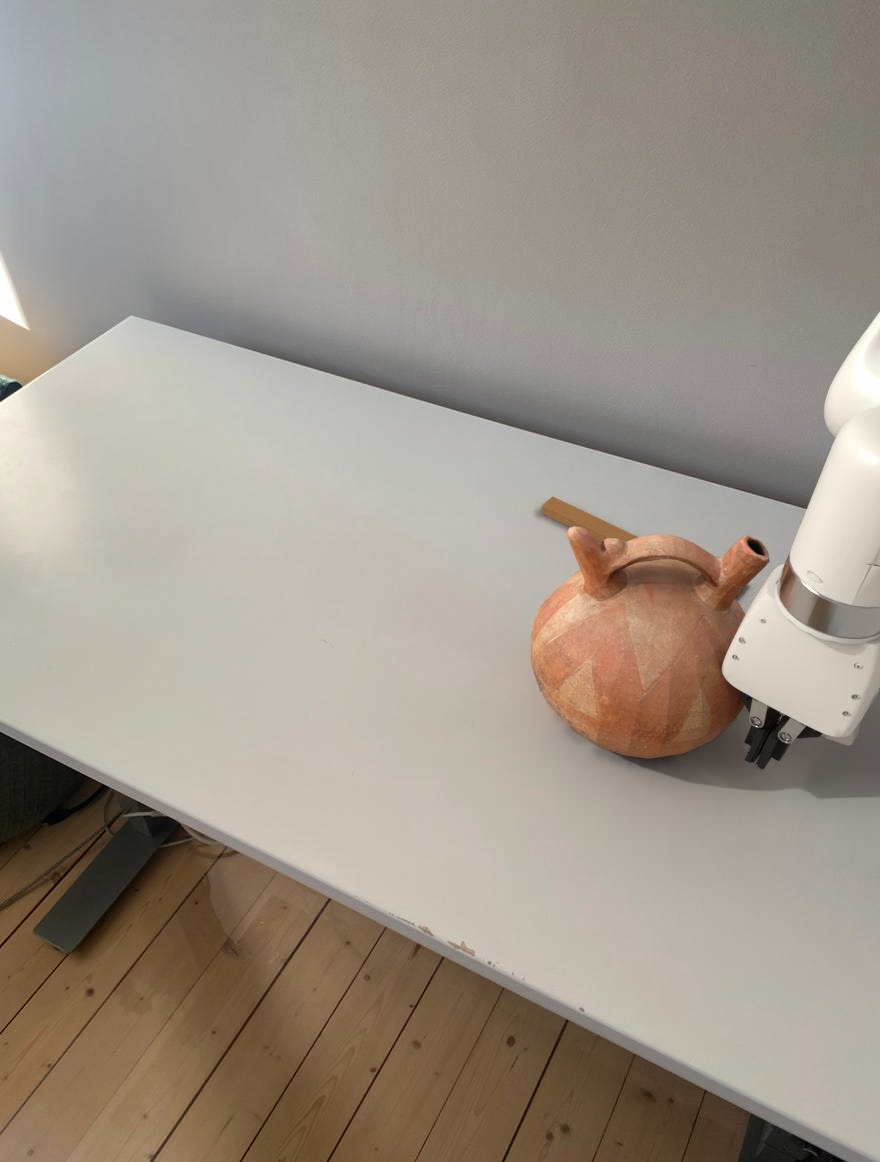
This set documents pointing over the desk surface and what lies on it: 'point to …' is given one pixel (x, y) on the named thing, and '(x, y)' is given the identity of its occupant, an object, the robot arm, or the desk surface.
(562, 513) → the spatula
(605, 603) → the jug
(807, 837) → the desk surface
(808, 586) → the robot arm
